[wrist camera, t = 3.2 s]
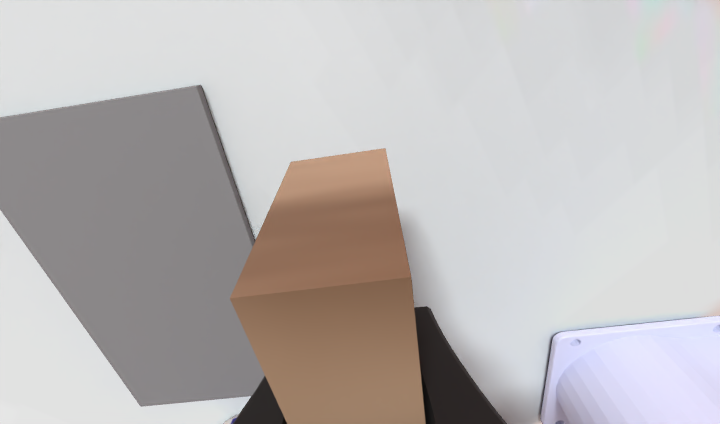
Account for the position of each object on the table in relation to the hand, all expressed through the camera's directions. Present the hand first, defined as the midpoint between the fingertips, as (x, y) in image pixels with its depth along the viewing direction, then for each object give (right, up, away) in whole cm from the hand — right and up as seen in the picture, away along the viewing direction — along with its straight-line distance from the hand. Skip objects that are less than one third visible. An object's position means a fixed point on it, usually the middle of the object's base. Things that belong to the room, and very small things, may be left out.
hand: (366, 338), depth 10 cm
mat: (-10, 0, +7) cm, 12 cm away
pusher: (0, 0, +2) cm, 2 cm away
